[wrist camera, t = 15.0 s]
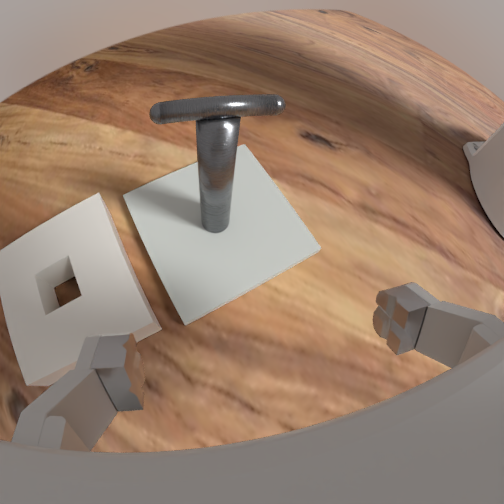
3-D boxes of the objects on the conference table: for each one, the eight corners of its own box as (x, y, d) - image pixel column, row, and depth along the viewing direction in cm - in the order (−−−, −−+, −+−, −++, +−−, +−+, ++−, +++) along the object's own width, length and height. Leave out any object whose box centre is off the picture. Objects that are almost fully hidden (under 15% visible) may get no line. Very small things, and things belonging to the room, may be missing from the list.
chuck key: (253, 204, 22) (281, 84, 12) (258, 228, 22) (293, 110, 12) (173, 213, 21) (149, 92, 11) (175, 238, 21) (147, 121, 11)
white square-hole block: (110, 213, 22) (98, 192, 19) (162, 329, 19) (153, 321, 16) (13, 268, 19) (-7, 254, 16) (48, 386, 16) (26, 385, 13)
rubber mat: (243, 150, 25) (244, 144, 25) (317, 252, 22) (321, 248, 22) (125, 200, 22) (122, 195, 21) (185, 325, 19) (184, 323, 18)
